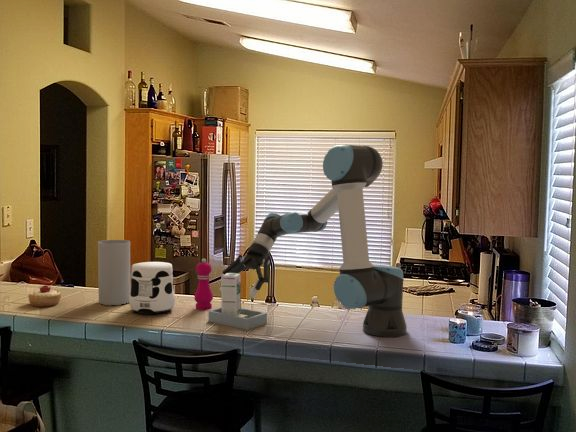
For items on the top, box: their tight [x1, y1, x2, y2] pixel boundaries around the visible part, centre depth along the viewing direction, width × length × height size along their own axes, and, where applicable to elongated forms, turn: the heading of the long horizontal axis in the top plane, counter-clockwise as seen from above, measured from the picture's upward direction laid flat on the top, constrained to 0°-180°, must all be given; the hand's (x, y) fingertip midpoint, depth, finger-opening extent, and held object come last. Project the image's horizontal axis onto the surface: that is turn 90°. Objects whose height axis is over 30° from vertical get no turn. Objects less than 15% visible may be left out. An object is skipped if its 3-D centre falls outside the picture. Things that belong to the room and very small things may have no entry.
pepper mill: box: [194, 258, 214, 311], centre depth 232 cm, size 7×7×20 cm
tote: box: [208, 306, 268, 331], centre depth 211 cm, size 18×11×4 cm, turn 56°
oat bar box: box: [237, 314, 248, 318], centre depth 211 cm, size 7×4×2 cm, turn 56°
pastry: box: [27, 283, 62, 308], centre depth 235 cm, size 12×12×9 cm
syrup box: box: [220, 272, 242, 316], centre depth 212 cm, size 6×6×14 cm
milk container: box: [128, 261, 176, 315], centre depth 227 cm, size 17×17×18 cm
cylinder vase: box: [97, 239, 131, 306], centre depth 239 cm, size 12×12×25 cm
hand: (236, 294), depth 214 cm, fingers open, 13 cm apart
